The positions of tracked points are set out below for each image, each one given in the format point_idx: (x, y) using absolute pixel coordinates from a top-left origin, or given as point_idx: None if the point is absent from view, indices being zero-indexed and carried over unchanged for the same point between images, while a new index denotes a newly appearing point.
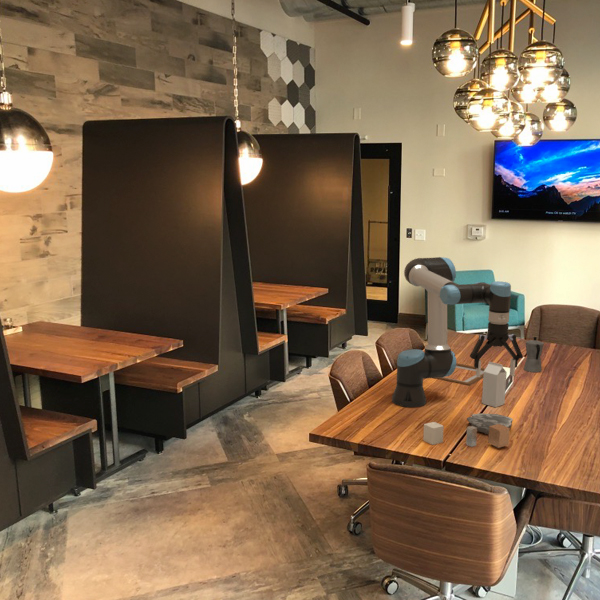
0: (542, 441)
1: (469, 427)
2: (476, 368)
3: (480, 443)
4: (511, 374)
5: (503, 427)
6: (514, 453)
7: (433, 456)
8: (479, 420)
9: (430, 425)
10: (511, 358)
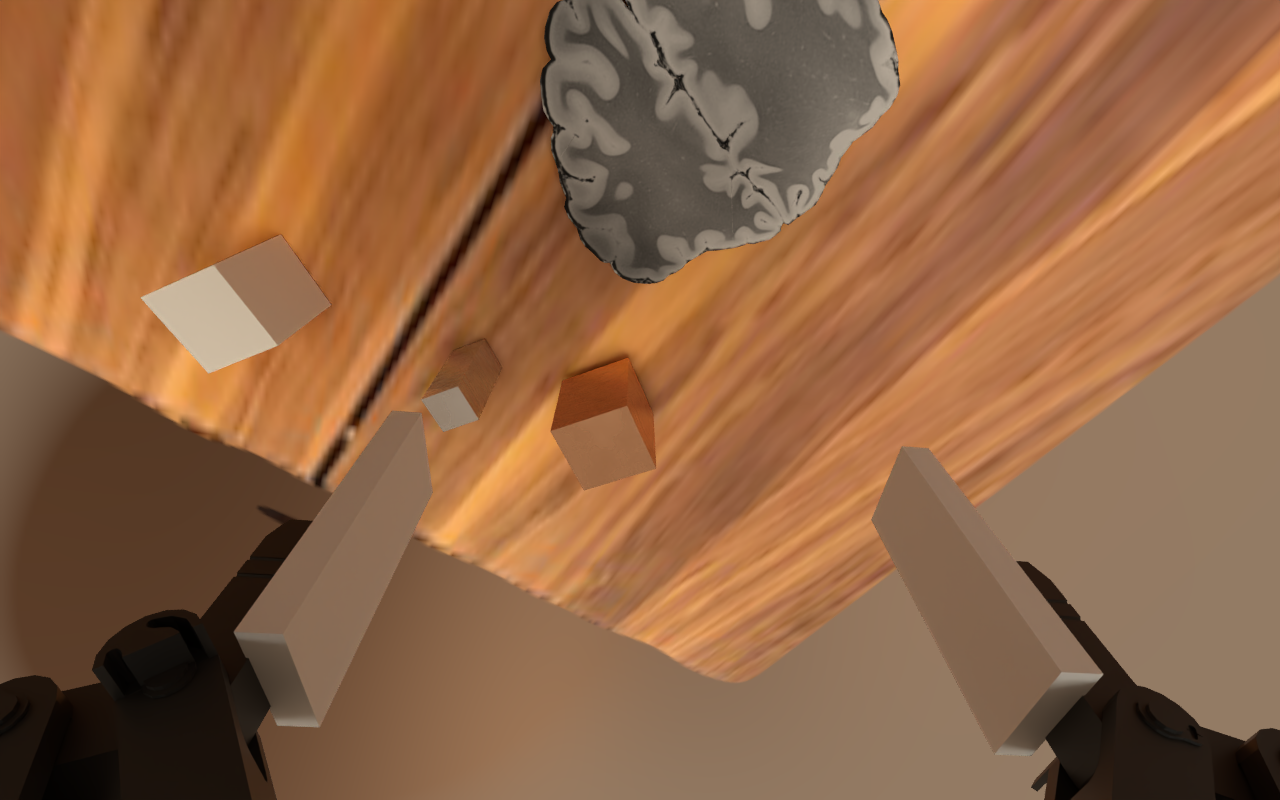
0: (865, 368)
1: (434, 406)
2: (345, 493)
3: (534, 346)
4: (888, 507)
5: (626, 456)
6: None
7: (270, 443)
8: (631, 85)
9: (188, 326)
10: (1070, 677)
